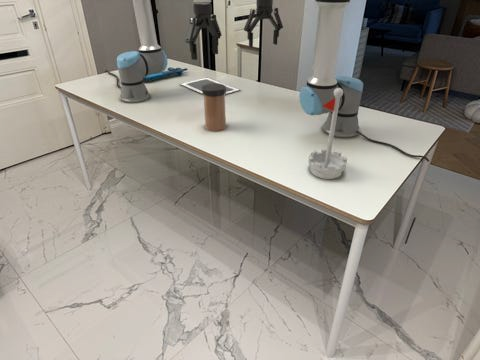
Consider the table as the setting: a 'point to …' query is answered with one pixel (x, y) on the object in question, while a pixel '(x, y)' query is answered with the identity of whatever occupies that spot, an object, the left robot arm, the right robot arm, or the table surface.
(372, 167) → the table surface
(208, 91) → the lid
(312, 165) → the flag stand
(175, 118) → the table surface
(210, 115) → the jar
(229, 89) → the tablet
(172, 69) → the submachine gun
